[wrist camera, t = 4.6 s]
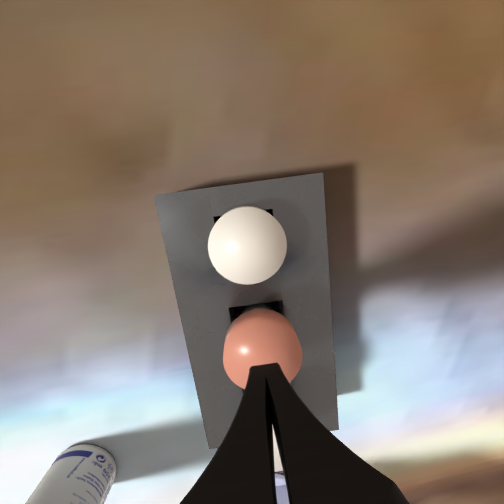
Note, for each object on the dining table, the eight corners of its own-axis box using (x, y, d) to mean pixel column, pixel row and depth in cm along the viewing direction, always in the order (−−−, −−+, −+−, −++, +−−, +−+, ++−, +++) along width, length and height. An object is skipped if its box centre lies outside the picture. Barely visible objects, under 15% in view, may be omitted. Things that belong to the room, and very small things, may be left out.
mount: (325, 398, 22) (338, 429, 19) (213, 414, 22) (209, 448, 19) (309, 175, 18) (323, 172, 15) (168, 194, 18) (153, 195, 15)
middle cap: (291, 344, 18) (305, 386, 14) (231, 352, 18) (229, 397, 14) (285, 288, 17) (299, 317, 13) (222, 297, 17) (217, 328, 13)
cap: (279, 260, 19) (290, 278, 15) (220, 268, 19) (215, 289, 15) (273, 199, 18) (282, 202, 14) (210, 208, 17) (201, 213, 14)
